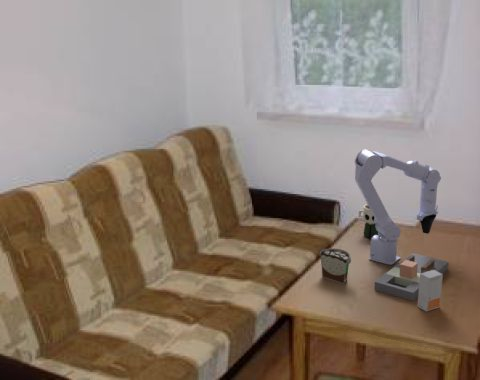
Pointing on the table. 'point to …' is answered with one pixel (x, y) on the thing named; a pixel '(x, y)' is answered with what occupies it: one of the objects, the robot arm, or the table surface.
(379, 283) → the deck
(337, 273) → the food container
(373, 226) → the character mug
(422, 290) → the skincare box
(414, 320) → the table surface
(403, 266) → the terracotta block
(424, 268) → the tunnel walls
